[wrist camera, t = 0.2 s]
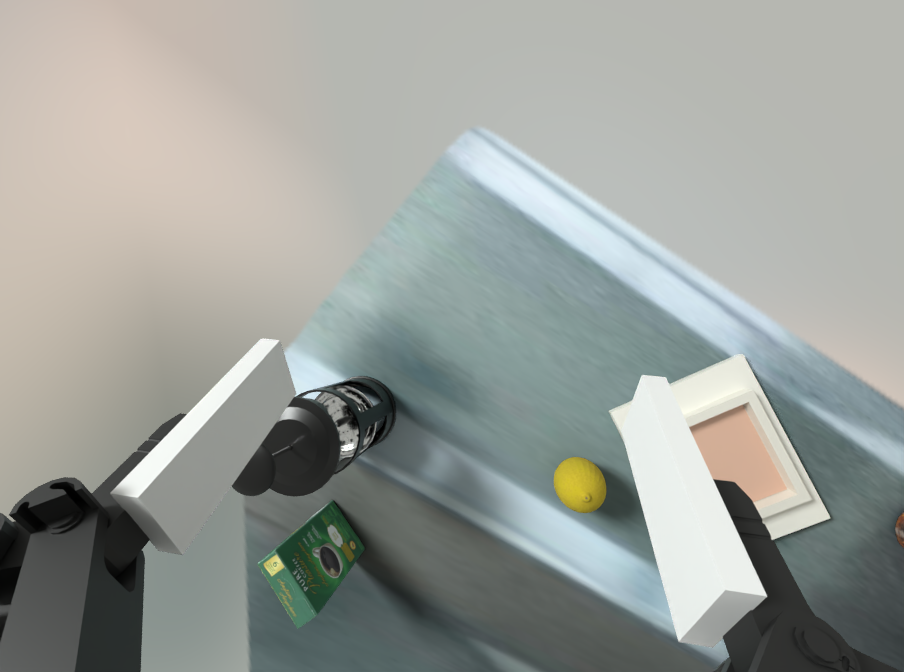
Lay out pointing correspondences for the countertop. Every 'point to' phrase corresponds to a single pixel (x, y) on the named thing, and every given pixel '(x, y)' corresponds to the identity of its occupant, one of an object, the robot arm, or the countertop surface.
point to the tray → (745, 443)
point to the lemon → (580, 485)
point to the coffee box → (312, 563)
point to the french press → (318, 438)
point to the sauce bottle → (900, 529)
